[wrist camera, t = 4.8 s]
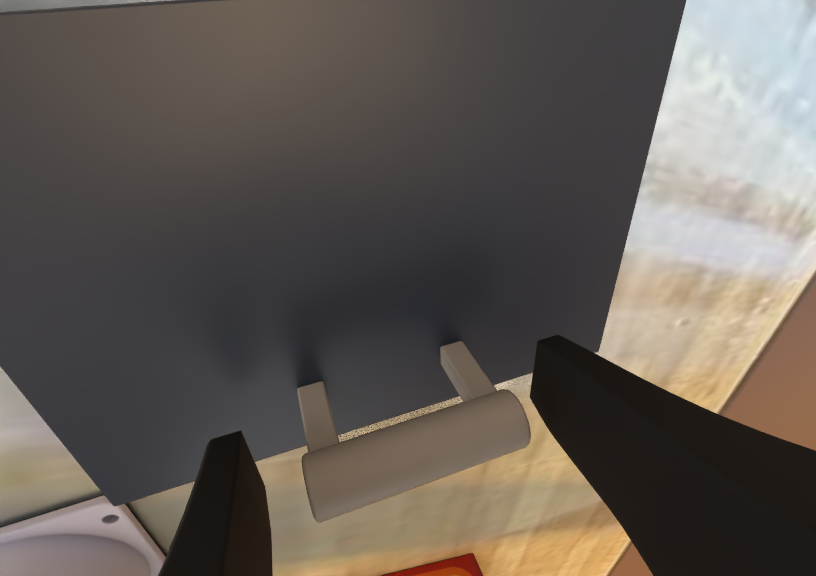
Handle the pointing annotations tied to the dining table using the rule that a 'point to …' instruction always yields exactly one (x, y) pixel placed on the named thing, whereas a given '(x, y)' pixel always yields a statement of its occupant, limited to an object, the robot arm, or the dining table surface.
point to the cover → (312, 223)
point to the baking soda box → (445, 568)
